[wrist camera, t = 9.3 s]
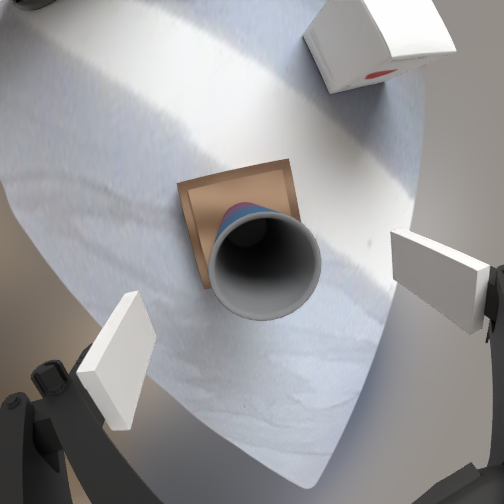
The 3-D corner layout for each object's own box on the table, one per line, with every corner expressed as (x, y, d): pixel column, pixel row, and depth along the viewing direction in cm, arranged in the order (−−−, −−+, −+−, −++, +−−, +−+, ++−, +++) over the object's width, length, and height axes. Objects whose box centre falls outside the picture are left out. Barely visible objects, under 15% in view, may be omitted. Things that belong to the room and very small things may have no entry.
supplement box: (328, 96, 33) (390, 60, 19) (300, 34, 31) (343, -28, 16) (386, 83, 33) (460, 53, 19) (360, 25, 31) (419, -24, 16)
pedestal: (180, 182, 34) (176, 183, 31) (283, 159, 34) (289, 158, 31) (205, 280, 37) (204, 290, 34) (301, 257, 38) (308, 265, 35)
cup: (288, 236, 33) (338, 285, 19) (233, 268, 34) (245, 339, 19) (257, 181, 32) (289, 189, 17) (200, 214, 32) (185, 250, 17)
